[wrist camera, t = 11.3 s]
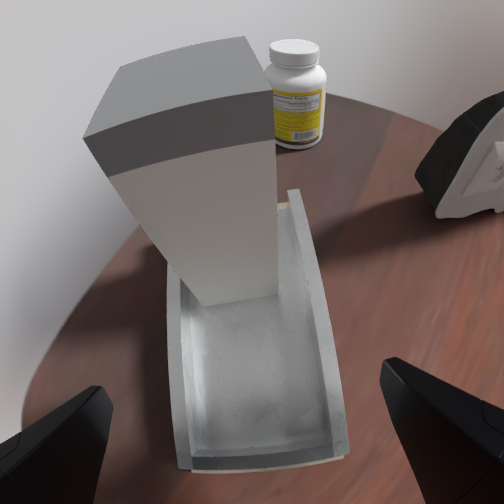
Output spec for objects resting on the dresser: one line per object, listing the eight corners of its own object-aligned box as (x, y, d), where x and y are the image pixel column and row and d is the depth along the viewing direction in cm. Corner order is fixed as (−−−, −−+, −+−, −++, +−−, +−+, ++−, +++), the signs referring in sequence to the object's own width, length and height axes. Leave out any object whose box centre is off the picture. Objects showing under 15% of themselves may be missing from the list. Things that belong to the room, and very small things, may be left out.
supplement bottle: (284, 114, 28) (281, 33, 19) (330, 129, 26) (338, 44, 17) (257, 140, 26) (247, 50, 17) (307, 158, 24) (312, 61, 16)
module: (278, 294, 17) (273, 89, 5) (203, 306, 17) (82, 138, 5) (265, 230, 19) (244, 36, 8) (198, 242, 19) (120, 66, 8)
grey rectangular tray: (340, 454, 13) (355, 469, 10) (196, 468, 13) (177, 484, 10) (296, 209, 22) (298, 177, 18) (183, 225, 22) (168, 196, 19)
